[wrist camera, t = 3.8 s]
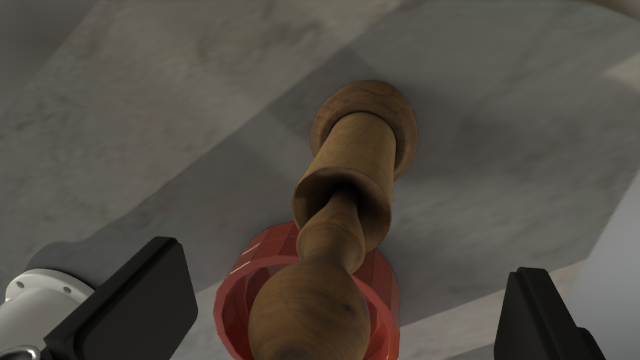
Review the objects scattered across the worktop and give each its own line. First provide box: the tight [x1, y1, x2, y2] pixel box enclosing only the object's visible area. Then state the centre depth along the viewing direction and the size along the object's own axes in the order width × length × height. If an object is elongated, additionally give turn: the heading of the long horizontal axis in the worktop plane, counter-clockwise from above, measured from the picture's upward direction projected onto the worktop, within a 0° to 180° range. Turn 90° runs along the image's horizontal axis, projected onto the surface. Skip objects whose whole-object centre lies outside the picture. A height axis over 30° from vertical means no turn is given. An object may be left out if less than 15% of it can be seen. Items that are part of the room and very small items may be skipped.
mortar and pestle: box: [248, 80, 417, 360], centre depth 16 cm, size 7×6×18 cm
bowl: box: [213, 221, 400, 360], centre depth 28 cm, size 13×13×5 cm
